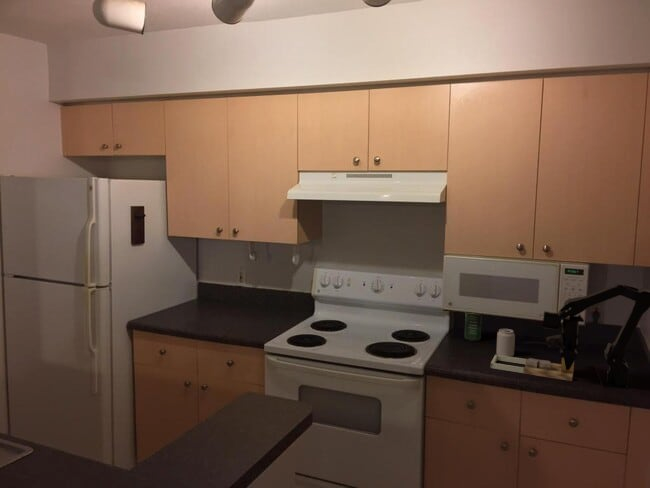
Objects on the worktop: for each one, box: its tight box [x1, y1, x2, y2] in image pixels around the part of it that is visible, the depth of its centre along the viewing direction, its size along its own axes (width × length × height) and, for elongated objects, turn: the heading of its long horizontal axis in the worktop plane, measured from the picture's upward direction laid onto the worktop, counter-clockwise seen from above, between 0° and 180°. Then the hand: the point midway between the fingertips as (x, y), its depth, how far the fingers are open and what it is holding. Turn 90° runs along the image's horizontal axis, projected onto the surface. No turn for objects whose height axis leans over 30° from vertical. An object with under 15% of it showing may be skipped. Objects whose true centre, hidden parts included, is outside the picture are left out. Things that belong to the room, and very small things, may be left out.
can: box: [495, 328, 516, 357], centre depth 236 cm, size 8×8×12 cm
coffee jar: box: [464, 312, 483, 342], centre depth 260 cm, size 10×8×19 cm
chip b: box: [527, 357, 540, 369], centre depth 217 cm, size 4×4×4 cm
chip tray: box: [490, 353, 528, 374], centre depth 222 cm, size 13×12×3 cm
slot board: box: [522, 358, 574, 382], centre depth 215 cm, size 18×12×3 cm, turn 64°
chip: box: [539, 359, 551, 370], centre depth 215 cm, size 4×4×4 cm
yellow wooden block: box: [560, 357, 575, 378], centre depth 211 cm, size 4×4×8 cm
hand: (567, 368), depth 211 cm, fingers closed on yellow wooden block, 3 cm apart
